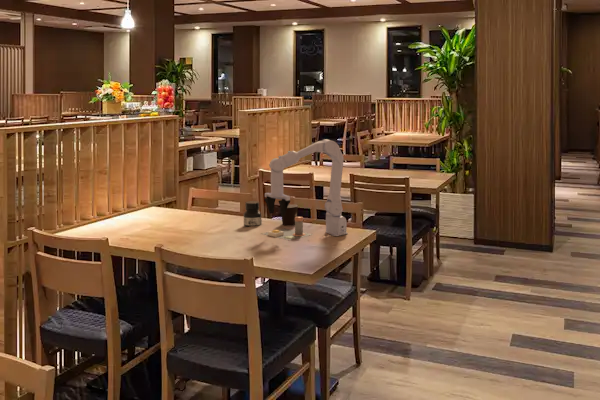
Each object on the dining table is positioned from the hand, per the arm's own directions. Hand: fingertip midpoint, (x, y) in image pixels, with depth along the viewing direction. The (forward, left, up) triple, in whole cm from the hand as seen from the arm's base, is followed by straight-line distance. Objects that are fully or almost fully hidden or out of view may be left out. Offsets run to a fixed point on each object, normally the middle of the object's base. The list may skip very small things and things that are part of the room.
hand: (277, 214), depth 292 cm
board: (-2, -5, -11) cm, 12 cm away
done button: (+1, 0, -9) cm, 9 cm away
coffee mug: (+13, -23, -11) cm, 28 cm away
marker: (-7, -7, -10) cm, 14 cm away
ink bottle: (+26, -9, -11) cm, 30 cm away
